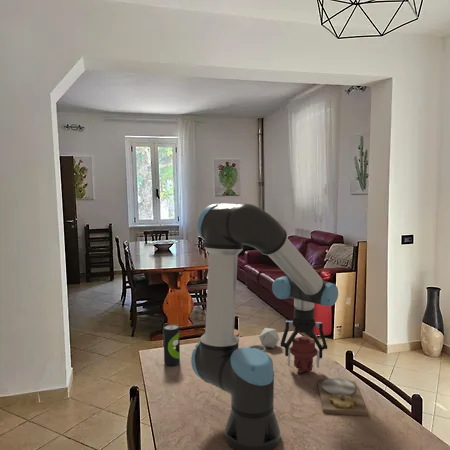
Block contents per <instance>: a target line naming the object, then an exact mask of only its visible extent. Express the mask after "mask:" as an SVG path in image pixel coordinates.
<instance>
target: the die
mask: <svg viewBox="0 0 450 450" xmlns="http://www.w3.org/2000/svg"><path fill="white" fill-rule="evenodd" d="M258 337H259V340H260V342H261V346H264V347H265V348H269V349H275V348H276V346H277V344H278V343H279V341H281V340H280V339H281V338H280V337H279V334H278V331H277V329H276V328H268V327H264V329H263V330H262V331H261V333H260V334H259V336H258Z"/></svg>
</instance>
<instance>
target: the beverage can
mask: <svg viewBox="0 0 450 450" xmlns="http://www.w3.org/2000/svg"><path fill="white" fill-rule="evenodd" d="M180 342H181V341H180V328H179V325H178V324H168V325H165V326H164V327H163V362H164V364H165V365H166V367H167V366H168V367H174V366H177V365H179V363H180V362H181V358H180V357H181V354H180V353H181V350H180V347H181V346H180V344H181V343H180Z"/></svg>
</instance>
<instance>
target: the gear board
mask: <svg viewBox="0 0 450 450" xmlns="http://www.w3.org/2000/svg"><path fill="white" fill-rule="evenodd" d="M317 385H318V391H319V397H320V405H321V408H322V409H323V410H322V413H323V414H335V415H336V414H337V415H347V414H349V415H350V416H360V415H361V416H362V415H363V416H364V417H367V416H368V411H367V408H366V406H365V403H364V401H363V398H362V395H361V393H360V389H359V387H358V385H357V381H356V380H346V379H343V378H337V377H336V378H335V377H333V378H317ZM365 415H366V416H365Z"/></svg>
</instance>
